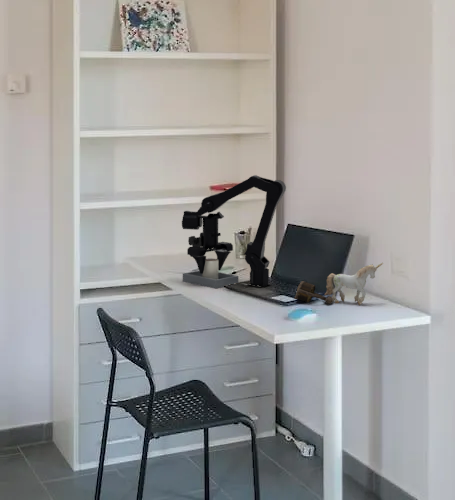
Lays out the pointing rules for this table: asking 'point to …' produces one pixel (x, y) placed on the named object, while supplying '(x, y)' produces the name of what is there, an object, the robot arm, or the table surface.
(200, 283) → the desk tray
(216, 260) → the ceramic cup
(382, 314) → the table surface
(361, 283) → the unicorn figurine
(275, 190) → the robot arm
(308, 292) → the brown wooden mallet
